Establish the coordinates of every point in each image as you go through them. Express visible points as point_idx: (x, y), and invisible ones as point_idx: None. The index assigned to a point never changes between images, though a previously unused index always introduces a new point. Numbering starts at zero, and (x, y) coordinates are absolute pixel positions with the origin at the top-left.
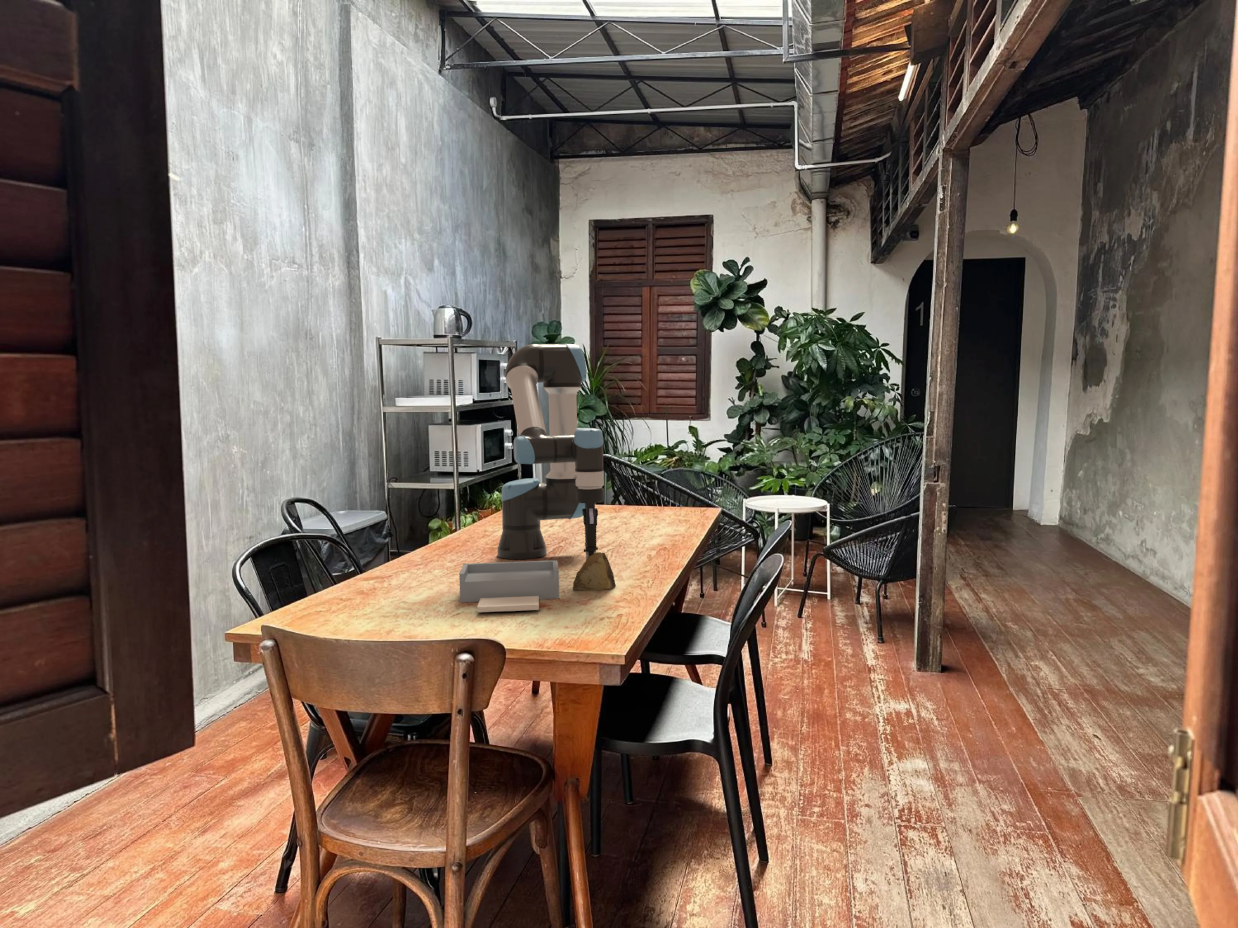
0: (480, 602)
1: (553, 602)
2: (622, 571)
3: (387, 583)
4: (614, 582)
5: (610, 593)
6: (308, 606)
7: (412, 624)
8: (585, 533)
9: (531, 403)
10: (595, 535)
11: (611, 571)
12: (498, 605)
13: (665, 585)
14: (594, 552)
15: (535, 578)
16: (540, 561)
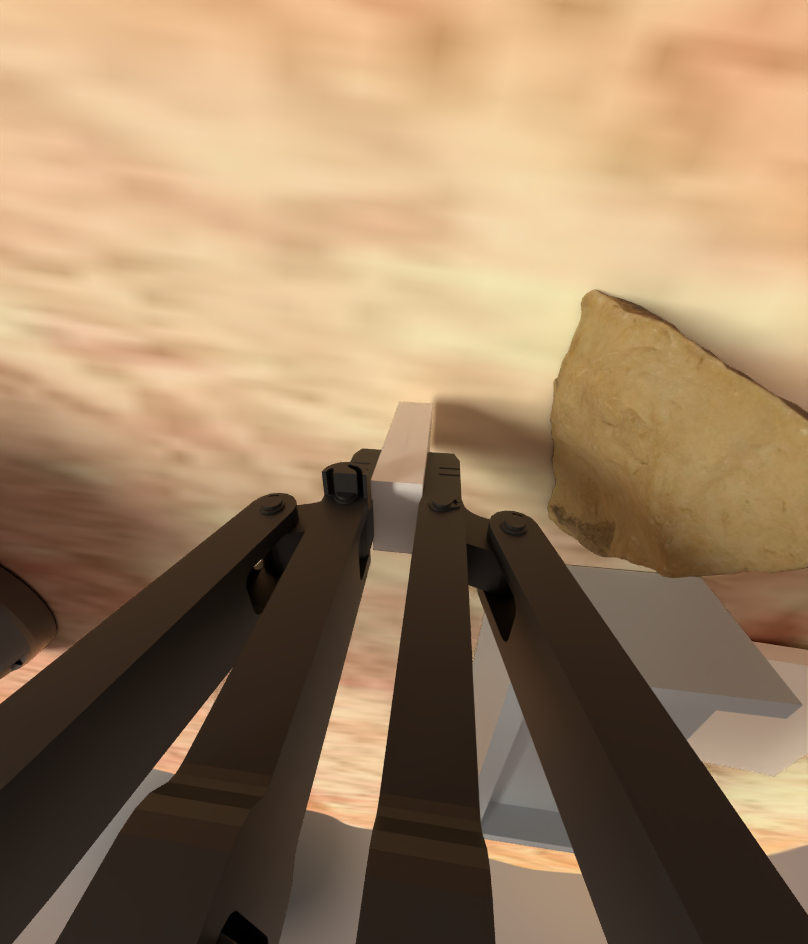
0: (700, 758)
1: (754, 599)
2: (164, 175)
3: (354, 796)
4: (640, 306)
5: (771, 351)
6: (501, 854)
7: (738, 812)
8: (232, 666)
9: None
10: (643, 693)
11: (700, 346)
12: (797, 747)
13: None
14: (423, 492)
15: (695, 715)
16: (513, 719)
